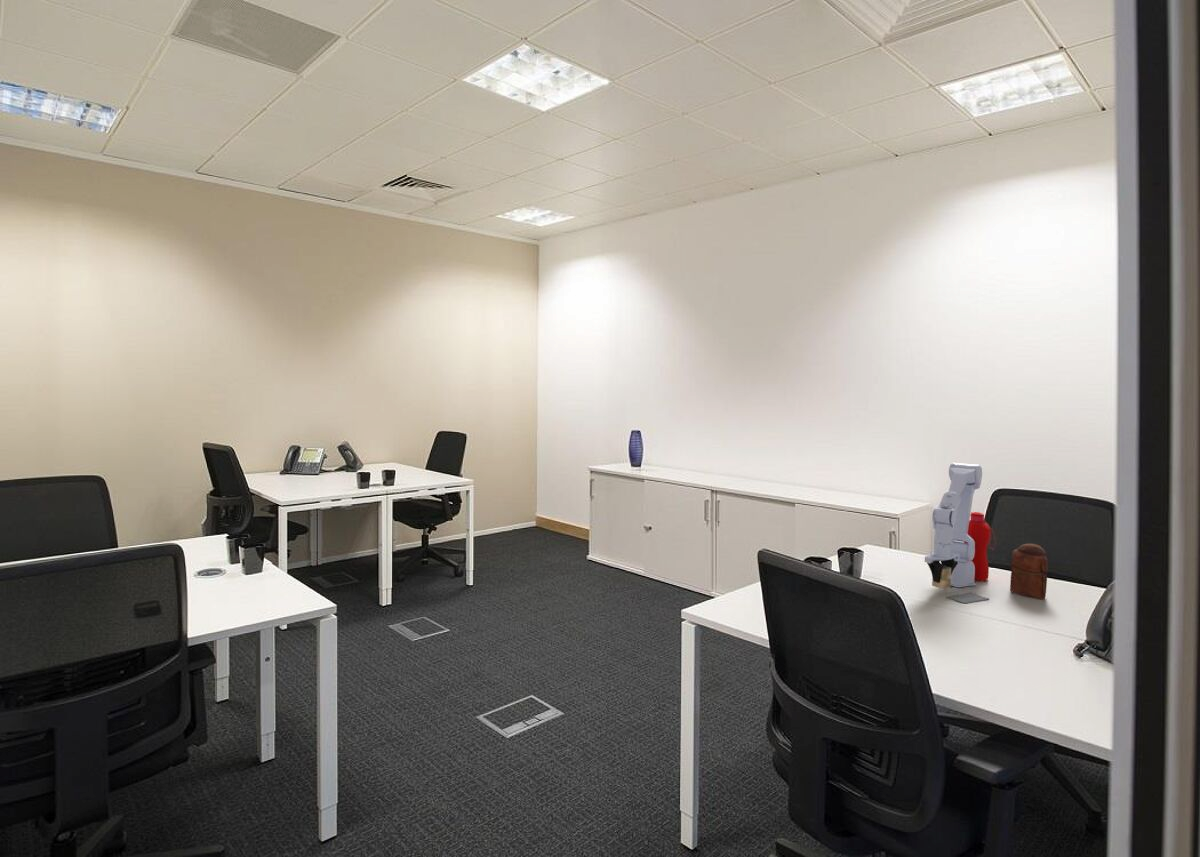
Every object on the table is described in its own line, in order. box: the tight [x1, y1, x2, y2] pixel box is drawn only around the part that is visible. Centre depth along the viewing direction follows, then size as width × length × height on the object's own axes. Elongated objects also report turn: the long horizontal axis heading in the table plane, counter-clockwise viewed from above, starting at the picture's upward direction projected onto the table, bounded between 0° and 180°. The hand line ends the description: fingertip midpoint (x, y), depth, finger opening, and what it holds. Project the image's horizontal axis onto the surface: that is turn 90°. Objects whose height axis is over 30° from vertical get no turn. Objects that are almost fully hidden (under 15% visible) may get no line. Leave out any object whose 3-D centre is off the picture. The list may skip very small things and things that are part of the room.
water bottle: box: [963, 511, 997, 582], centre depth 253 cm, size 9×11×25 cm
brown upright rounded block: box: [1009, 543, 1049, 600], centre depth 235 cm, size 12×6×18 cm, turn 39°
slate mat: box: [945, 591, 990, 605], centre depth 230 cm, size 12×7×1 cm, turn 113°
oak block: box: [931, 566, 951, 590], centre depth 234 cm, size 4×4×7 cm
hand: (941, 581), depth 234 cm, fingers closed on oak block, 4 cm apart
